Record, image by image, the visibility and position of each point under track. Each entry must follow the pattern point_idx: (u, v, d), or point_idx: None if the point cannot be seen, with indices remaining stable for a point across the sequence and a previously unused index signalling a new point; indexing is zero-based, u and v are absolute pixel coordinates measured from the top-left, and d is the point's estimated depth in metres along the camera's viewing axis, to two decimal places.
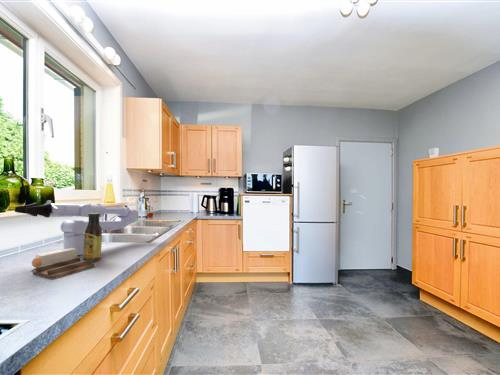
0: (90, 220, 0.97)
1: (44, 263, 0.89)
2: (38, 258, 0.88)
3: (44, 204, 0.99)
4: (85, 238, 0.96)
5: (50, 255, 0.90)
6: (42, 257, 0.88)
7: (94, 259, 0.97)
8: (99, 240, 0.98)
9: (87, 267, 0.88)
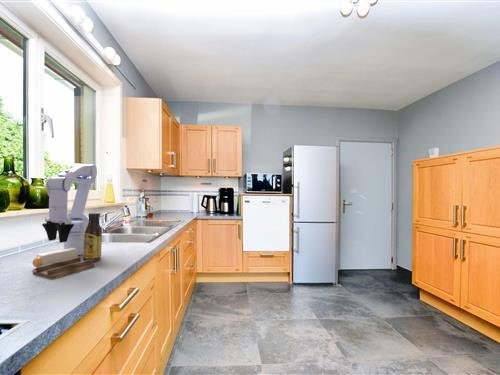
0: (90, 220, 0.97)
1: (45, 263, 0.89)
2: (39, 258, 0.88)
3: None
4: (85, 238, 0.96)
5: (50, 254, 0.90)
6: (43, 257, 0.88)
7: (94, 259, 0.97)
8: (99, 240, 0.98)
9: (87, 267, 0.88)
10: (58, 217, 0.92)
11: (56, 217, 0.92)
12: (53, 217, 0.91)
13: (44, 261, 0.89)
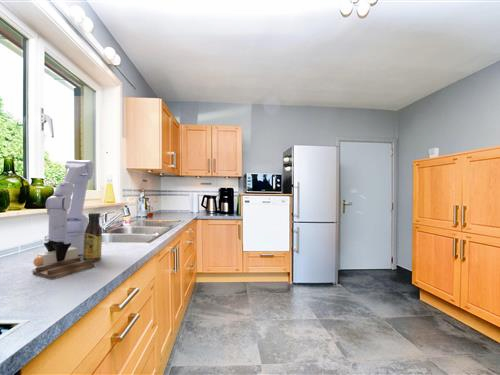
0: (90, 220, 0.97)
1: (46, 262, 0.89)
2: (40, 257, 0.88)
3: None
4: (85, 238, 0.96)
5: (51, 254, 0.91)
6: (44, 256, 0.88)
7: (94, 259, 0.97)
8: (99, 240, 0.98)
9: (87, 267, 0.88)
10: (58, 236, 0.92)
11: (56, 237, 0.92)
12: (53, 237, 0.91)
13: (45, 260, 0.89)
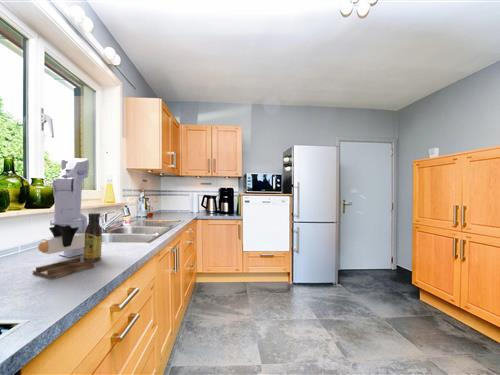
0: (90, 220, 0.97)
1: (51, 247, 0.83)
2: (45, 242, 0.82)
3: None
4: (85, 238, 0.96)
5: (57, 239, 0.85)
6: (49, 241, 0.83)
7: (94, 259, 0.97)
8: (99, 240, 0.98)
9: (87, 267, 0.88)
10: (64, 220, 0.86)
11: (62, 220, 0.86)
12: (59, 220, 0.86)
13: (50, 245, 0.83)
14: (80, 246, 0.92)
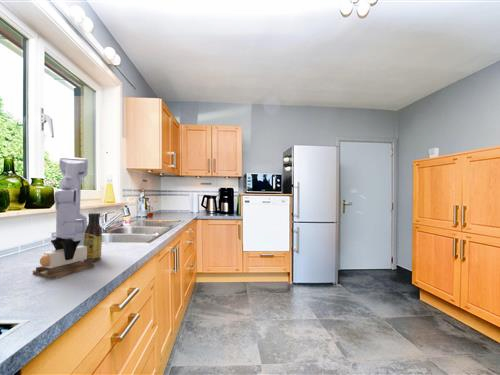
0: (90, 220, 0.97)
1: (53, 261, 0.82)
2: (47, 256, 0.81)
3: None
4: (85, 238, 0.96)
5: (59, 252, 0.83)
6: (51, 255, 0.81)
7: (94, 259, 0.97)
8: (99, 240, 0.98)
9: (87, 267, 0.88)
10: (66, 233, 0.85)
11: (64, 233, 0.84)
12: (61, 233, 0.84)
13: (52, 259, 0.81)
14: (82, 259, 0.90)
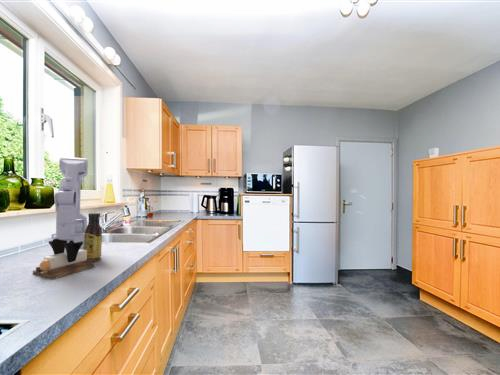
0: (90, 220, 0.97)
1: (53, 266, 0.82)
2: (46, 260, 0.81)
3: None
4: (85, 238, 0.96)
5: (59, 257, 0.83)
6: (51, 259, 0.81)
7: (94, 259, 0.97)
8: (99, 240, 0.98)
9: (87, 267, 0.88)
10: (66, 235, 0.85)
11: (64, 235, 0.84)
12: (61, 235, 0.84)
13: (52, 264, 0.81)
14: None
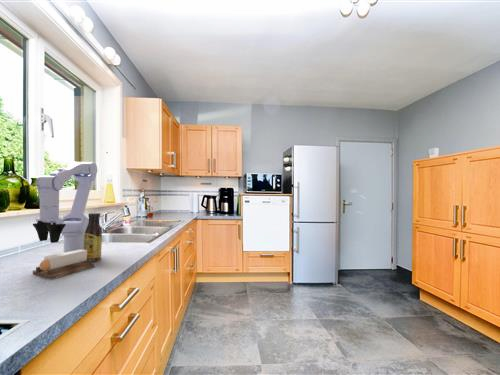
0: (90, 220, 0.97)
1: (53, 266, 0.82)
2: (46, 260, 0.81)
3: None
4: (85, 238, 0.96)
5: (59, 257, 0.83)
6: (51, 259, 0.81)
7: (94, 259, 0.97)
8: (99, 240, 0.98)
9: (87, 267, 0.88)
10: (49, 217, 0.89)
11: (47, 217, 0.89)
12: (44, 217, 0.89)
13: (52, 264, 0.81)
14: None
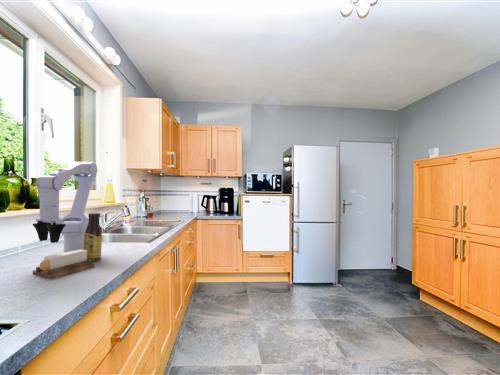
0: (90, 220, 0.97)
1: (53, 266, 0.82)
2: (46, 260, 0.81)
3: None
4: (85, 238, 0.96)
5: (59, 257, 0.83)
6: (51, 259, 0.81)
7: (94, 259, 0.97)
8: (99, 240, 0.98)
9: (87, 267, 0.88)
10: (49, 217, 0.89)
11: (47, 217, 0.89)
12: (44, 217, 0.89)
13: (52, 264, 0.81)
14: None
